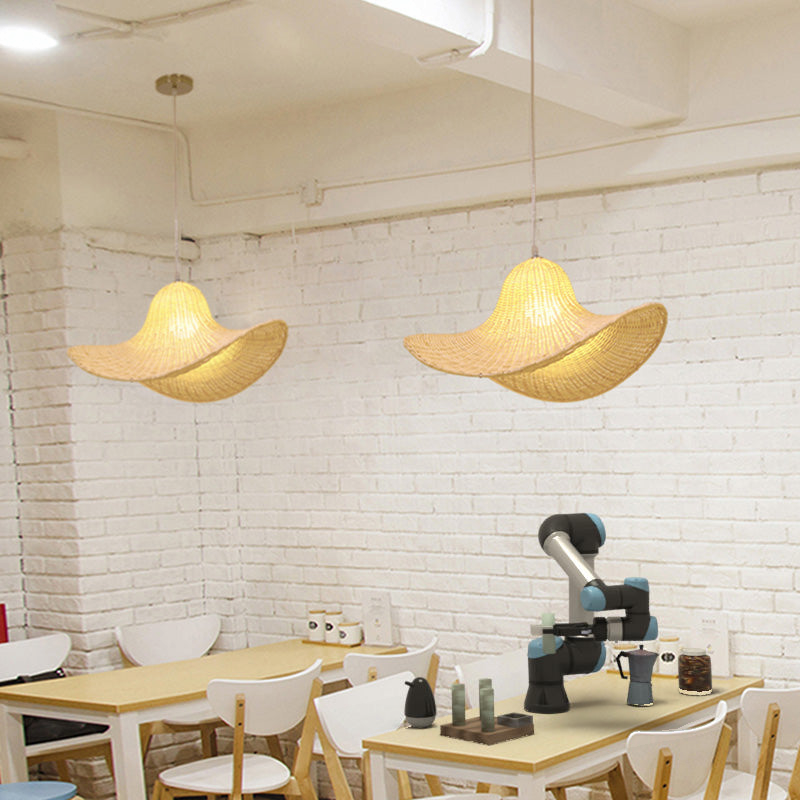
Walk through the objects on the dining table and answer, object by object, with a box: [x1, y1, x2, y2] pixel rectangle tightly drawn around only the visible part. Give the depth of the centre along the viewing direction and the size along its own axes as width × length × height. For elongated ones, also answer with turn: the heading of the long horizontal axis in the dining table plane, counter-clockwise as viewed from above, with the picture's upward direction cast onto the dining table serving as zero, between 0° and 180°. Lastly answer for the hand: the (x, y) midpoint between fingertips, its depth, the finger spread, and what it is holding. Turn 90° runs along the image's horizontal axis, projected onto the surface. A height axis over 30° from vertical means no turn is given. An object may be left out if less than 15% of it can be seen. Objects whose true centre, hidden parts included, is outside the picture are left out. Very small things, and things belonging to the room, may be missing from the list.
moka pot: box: [615, 644, 660, 705], centre depth 396 cm, size 10×15×20 cm, turn 105°
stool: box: [439, 677, 535, 746], centre depth 355 cm, size 20×20×15 cm
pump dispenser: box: [403, 676, 438, 729], centre depth 369 cm, size 10×10×15 cm
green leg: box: [541, 612, 556, 654], centre depth 364 cm, size 4×4×12 cm
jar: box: [677, 647, 713, 692], centre depth 415 cm, size 12×12×15 cm
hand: (531, 630), depth 365 cm, fingers closed on green leg, 4 cm apart
